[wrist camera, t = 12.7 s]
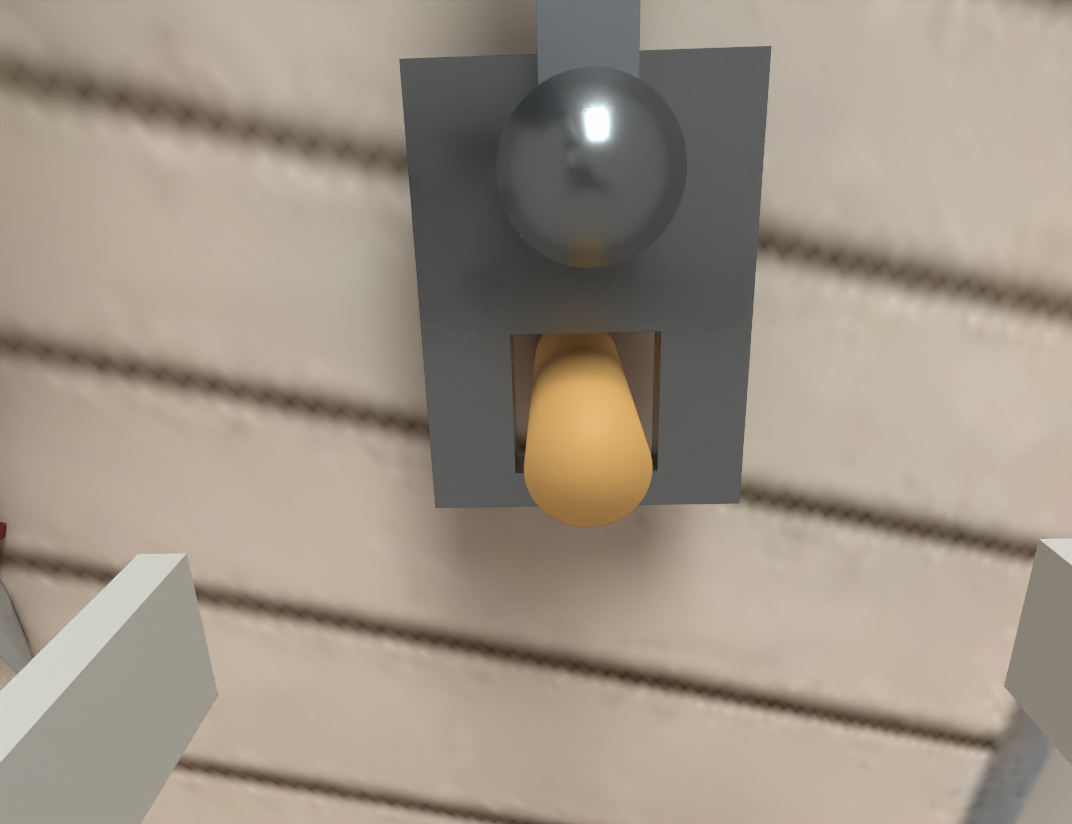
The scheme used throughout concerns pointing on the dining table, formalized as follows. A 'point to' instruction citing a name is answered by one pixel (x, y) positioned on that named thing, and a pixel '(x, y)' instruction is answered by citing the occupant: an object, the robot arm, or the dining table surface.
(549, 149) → the grey toggle clamp
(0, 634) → the pliers
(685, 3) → the dining table surface
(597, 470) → the orange rounded rod
